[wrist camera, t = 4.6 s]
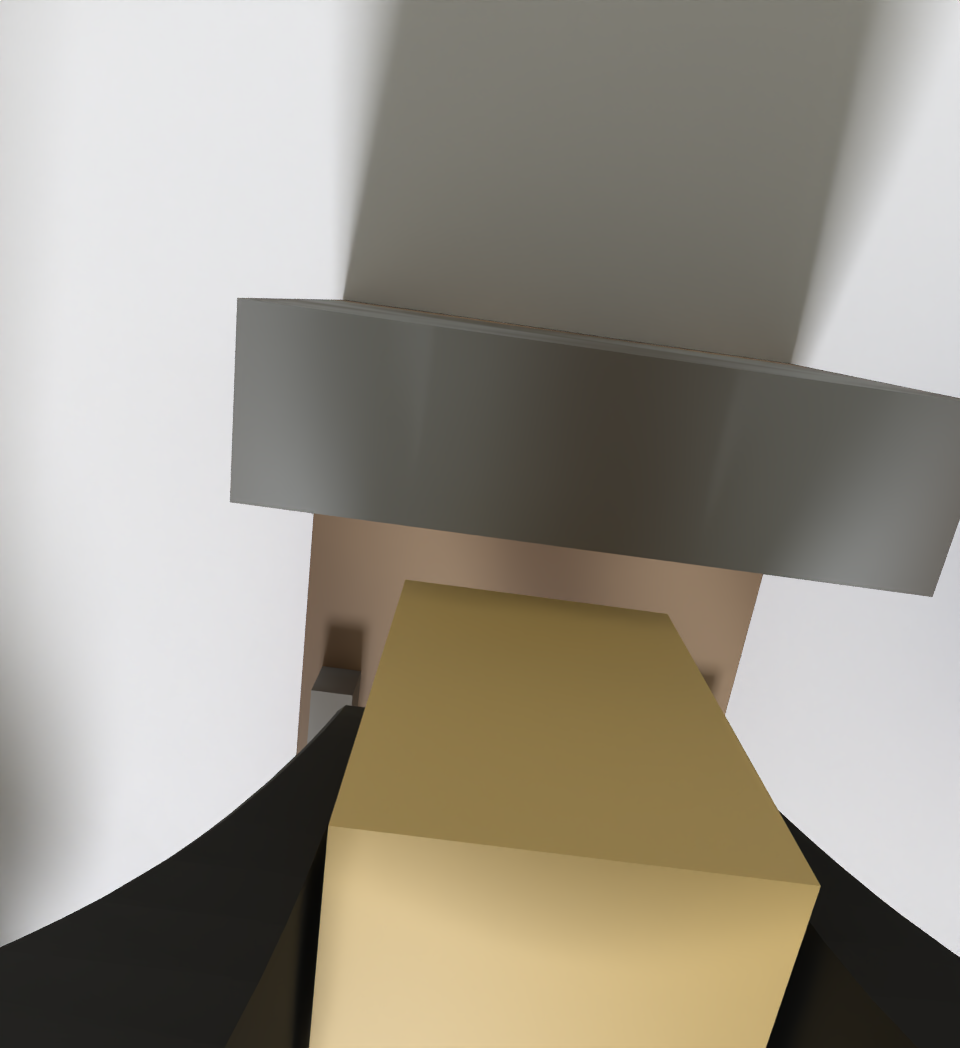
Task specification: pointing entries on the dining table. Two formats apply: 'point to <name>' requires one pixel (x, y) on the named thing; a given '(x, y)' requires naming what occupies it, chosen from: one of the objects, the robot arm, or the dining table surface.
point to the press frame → (572, 475)
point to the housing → (550, 842)
